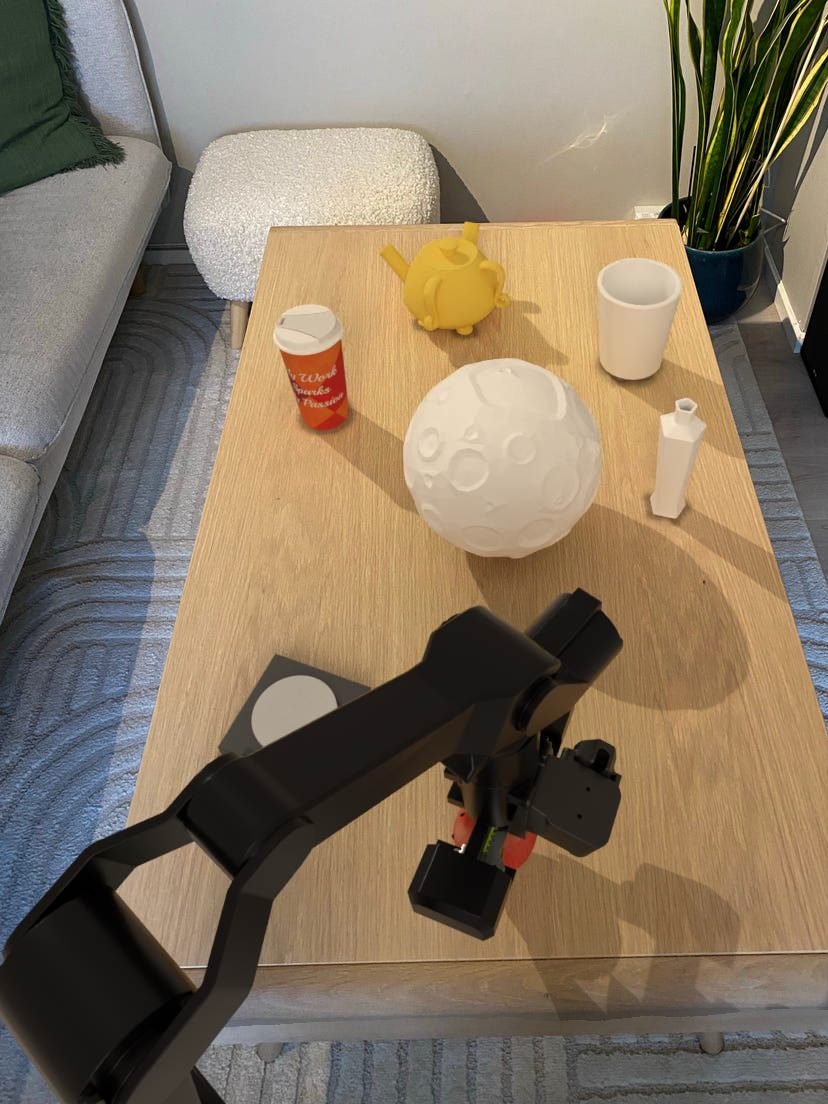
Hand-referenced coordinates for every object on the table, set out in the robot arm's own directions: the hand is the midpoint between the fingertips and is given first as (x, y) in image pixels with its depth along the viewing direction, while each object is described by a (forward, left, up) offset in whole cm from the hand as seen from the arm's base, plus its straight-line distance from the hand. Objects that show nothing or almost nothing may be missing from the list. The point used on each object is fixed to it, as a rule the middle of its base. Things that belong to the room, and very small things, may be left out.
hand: (498, 835), depth 72 cm
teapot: (+65, +32, -4) cm, 73 cm away
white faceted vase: (+41, -4, -4) cm, 41 cm away
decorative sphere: (+33, +12, -4) cm, 35 cm away
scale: (+4, +21, -4) cm, 22 cm away
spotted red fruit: (0, 0, -3) cm, 3 cm away
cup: (+62, +6, -4) cm, 62 cm away
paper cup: (+41, +38, -4) cm, 56 cm away
